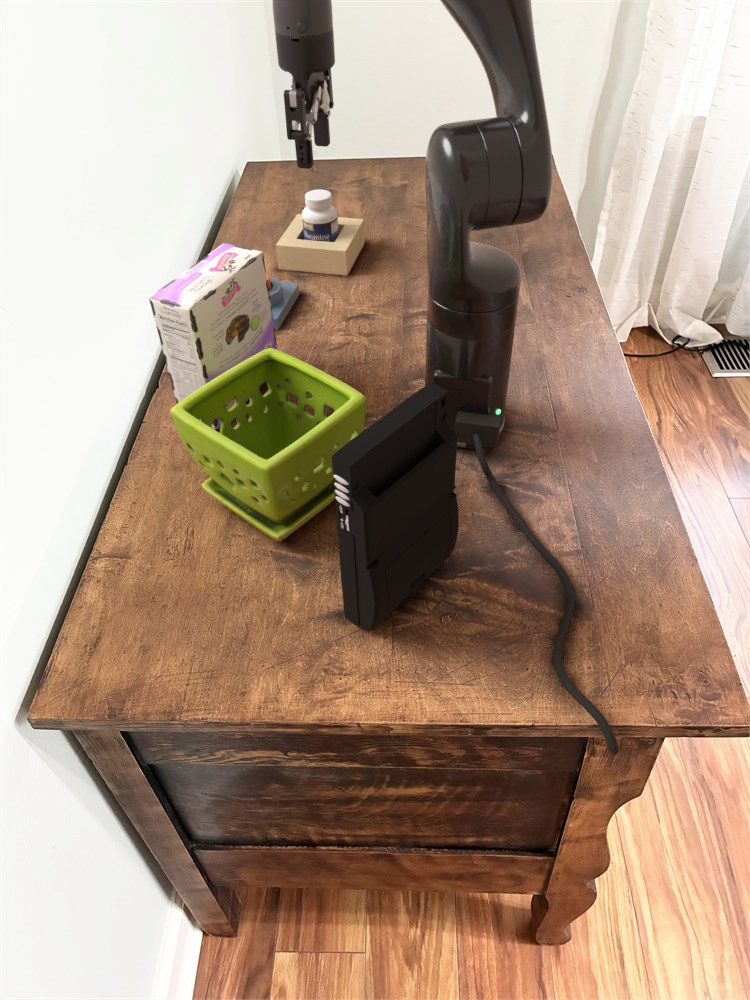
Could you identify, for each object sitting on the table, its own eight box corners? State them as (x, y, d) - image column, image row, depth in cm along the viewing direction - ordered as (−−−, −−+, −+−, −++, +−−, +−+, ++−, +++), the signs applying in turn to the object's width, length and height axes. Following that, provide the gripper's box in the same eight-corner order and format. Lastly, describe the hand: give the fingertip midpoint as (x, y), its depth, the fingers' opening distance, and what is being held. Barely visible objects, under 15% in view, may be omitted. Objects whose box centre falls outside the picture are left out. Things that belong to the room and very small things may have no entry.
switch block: (278, 330, 104) (275, 307, 101) (223, 324, 105) (219, 301, 103) (299, 293, 111) (297, 271, 108) (248, 288, 112) (245, 266, 110)
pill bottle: (300, 261, 118) (294, 200, 111) (312, 246, 121) (307, 185, 114) (333, 266, 116) (329, 203, 110) (344, 250, 120) (340, 189, 113)
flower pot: (190, 501, 80) (163, 406, 71) (283, 436, 87) (270, 342, 78) (282, 565, 73) (265, 469, 64) (375, 489, 81) (371, 393, 72)
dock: (347, 275, 114) (346, 251, 111) (278, 269, 116) (275, 244, 113) (364, 243, 122) (363, 218, 119) (299, 237, 124) (297, 213, 121)
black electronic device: (421, 543, 75) (426, 378, 61) (458, 565, 73) (472, 399, 59) (339, 618, 69) (323, 453, 55) (377, 645, 67) (370, 481, 52)
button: (267, 295, 104) (265, 284, 103) (245, 293, 105) (243, 282, 104) (274, 284, 106) (273, 273, 105) (253, 282, 107) (251, 271, 106)
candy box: (245, 359, 99) (223, 239, 87) (282, 370, 97) (265, 250, 85) (178, 418, 90) (145, 294, 79) (217, 432, 88) (189, 307, 77)
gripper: (293, 12, 102) (304, 137, 114) (257, 39, 92) (273, 173, 104) (346, 13, 101) (352, 140, 112) (316, 41, 91) (325, 177, 102)
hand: (314, 156), depth 108 cm, fingers open, 8 cm apart
